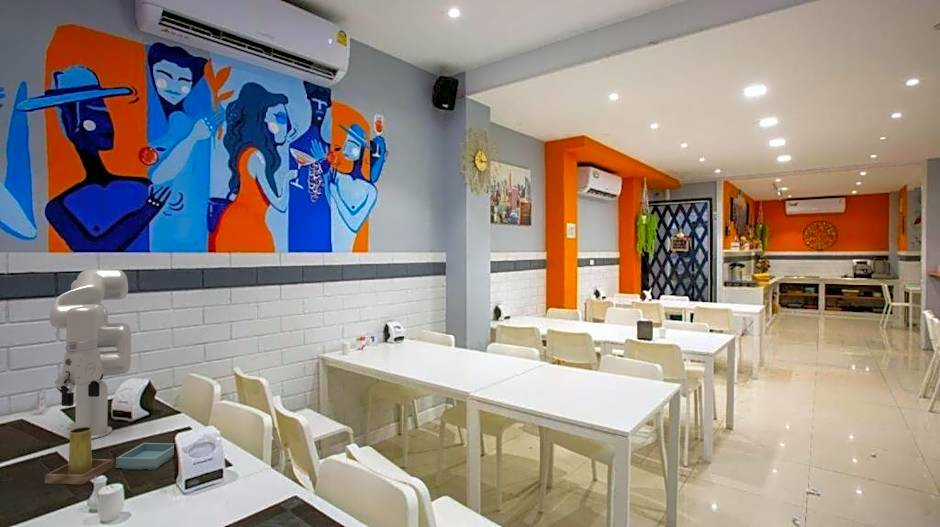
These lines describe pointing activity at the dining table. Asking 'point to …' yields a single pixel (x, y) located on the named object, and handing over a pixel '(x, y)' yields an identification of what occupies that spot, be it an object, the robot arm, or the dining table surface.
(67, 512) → the dining table surface
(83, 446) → the vase
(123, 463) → the tray
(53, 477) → the frame
